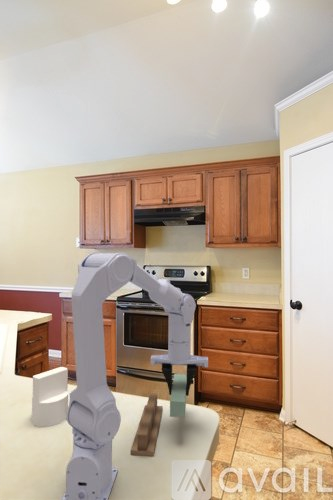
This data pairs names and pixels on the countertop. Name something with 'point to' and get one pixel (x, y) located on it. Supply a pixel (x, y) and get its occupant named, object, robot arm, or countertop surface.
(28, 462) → the countertop surface
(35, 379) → the base with upright slab
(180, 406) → the pale green bar
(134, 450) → the stand
